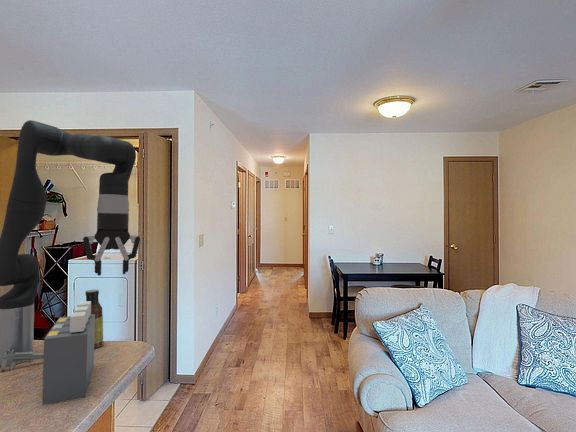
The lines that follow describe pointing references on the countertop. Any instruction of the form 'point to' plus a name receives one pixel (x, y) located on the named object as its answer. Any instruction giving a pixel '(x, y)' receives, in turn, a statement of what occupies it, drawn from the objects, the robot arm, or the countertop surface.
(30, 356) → the caliper
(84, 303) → the tab back
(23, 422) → the countertop surface
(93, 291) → the sauce bottle
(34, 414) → the countertop surface
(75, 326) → the tab front
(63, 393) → the switch box
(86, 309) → the tab middle
